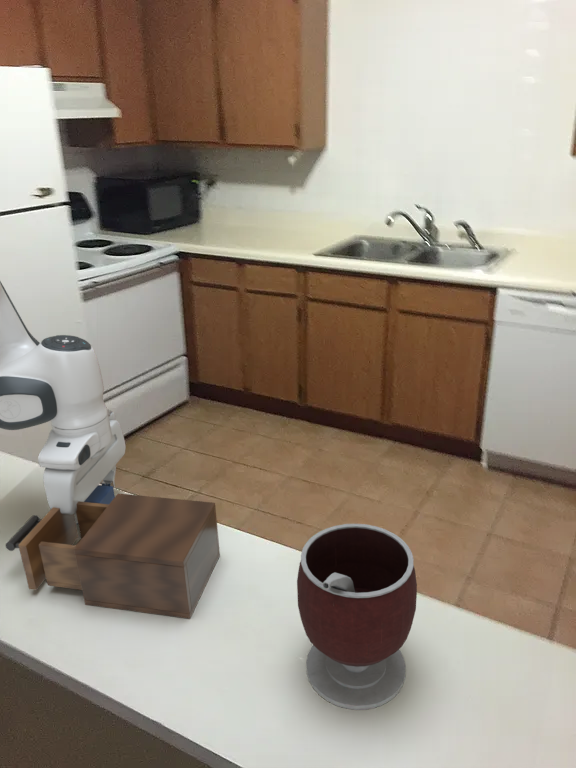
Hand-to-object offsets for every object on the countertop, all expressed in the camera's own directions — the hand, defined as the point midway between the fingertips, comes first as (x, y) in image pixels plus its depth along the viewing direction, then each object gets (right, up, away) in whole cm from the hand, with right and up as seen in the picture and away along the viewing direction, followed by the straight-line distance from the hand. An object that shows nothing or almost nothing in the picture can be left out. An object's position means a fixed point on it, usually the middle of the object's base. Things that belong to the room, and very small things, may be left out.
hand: (96, 505), depth 113 cm
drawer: (+1, -7, -12) cm, 14 cm away
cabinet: (+13, -9, -14) cm, 21 cm away
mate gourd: (+40, -15, -31) cm, 53 cm away
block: (0, -2, +1) cm, 3 cm away
